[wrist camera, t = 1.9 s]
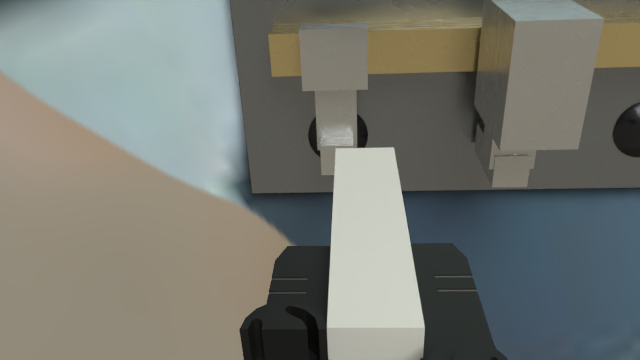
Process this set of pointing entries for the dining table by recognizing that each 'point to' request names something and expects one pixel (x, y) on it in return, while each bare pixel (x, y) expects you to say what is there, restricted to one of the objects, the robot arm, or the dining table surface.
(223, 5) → the dining table surface
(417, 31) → the beam
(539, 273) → the dining table surface
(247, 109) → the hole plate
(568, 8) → the block
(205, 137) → the dining table surface
